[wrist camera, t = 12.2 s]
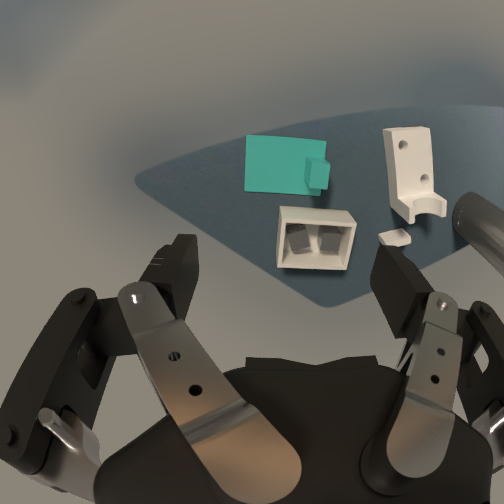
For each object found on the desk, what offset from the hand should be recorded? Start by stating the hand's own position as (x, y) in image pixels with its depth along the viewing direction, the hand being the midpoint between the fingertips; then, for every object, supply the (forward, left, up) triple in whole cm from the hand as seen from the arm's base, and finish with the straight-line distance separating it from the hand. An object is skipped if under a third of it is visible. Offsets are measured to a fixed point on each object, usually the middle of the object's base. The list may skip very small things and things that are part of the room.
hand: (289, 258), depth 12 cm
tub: (-8, +12, -30) cm, 33 cm away
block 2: (-10, +12, -30) cm, 34 cm away
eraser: (-22, +12, -30) cm, 39 cm away
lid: (-2, +2, -31) cm, 31 cm away
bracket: (-22, 0, -31) cm, 38 cm away
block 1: (-5, +12, -30) cm, 32 cm away
